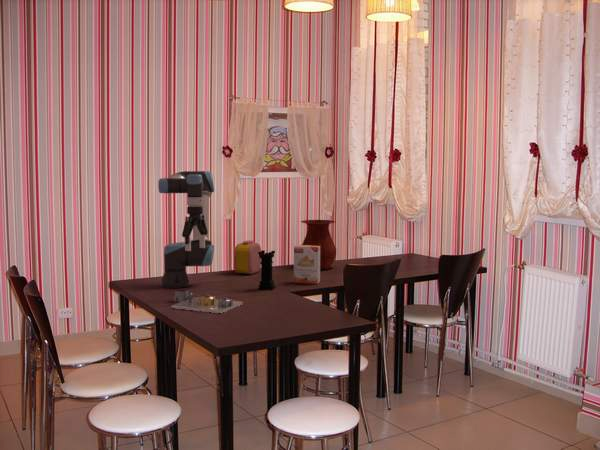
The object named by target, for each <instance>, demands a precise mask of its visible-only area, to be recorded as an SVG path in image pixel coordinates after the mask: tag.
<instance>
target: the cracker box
mask: <svg viewBox="0 0 600 450" xmlns="http://www.w3.org/2000/svg"><path fill="white" fill-rule="evenodd" d="M320 282H321V270H320V246H309V245H302V244H295V245H294V246H293V283H294V284H308V285H309V284H310V285H319V283H320Z"/></svg>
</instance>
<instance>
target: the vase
mask: <svg viewBox="0 0 600 450" xmlns="http://www.w3.org/2000/svg"><path fill="white" fill-rule="evenodd" d="M300 223H302V224H306V225H307V231H306V235H305V236H304V239H303V241H302V244H301V245H309V246H320V271H321V270H327V269H330V268H331V267H332V265H333V264H334V263H335V262H334V261H335V260H336V257H337V247H336V244H335V242H334V240H333V238H332V236H331V234H330V233H331V232H330V224H334V223H336V220H333V219H331V220H330V219H307V220H306V219H305V220H301V221H300Z"/></svg>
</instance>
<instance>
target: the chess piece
mask: <svg viewBox="0 0 600 450" xmlns="http://www.w3.org/2000/svg"><path fill="white" fill-rule="evenodd" d="M275 253H276V250H270V251H269V252H266V250H264V249H263V250H262V249H261V252H258V254H259V258H261V262H260V264H261V267H260V270H261V271H260V273H261V274H260V276H261V277H260V278H261V279H260V281H259V282H258V287H257V291H274V290H275V289H276V288H277V286H276V283H275V280H274V279H273V264H274V261H273V258H275Z"/></svg>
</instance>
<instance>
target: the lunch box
mask: <svg viewBox="0 0 600 450" xmlns="http://www.w3.org/2000/svg"><path fill="white" fill-rule="evenodd" d="M261 251H262V247H261V245H260V244H259V243H258V242H254V240H244V241H242V242H240V243H238V244H236V246H235V247H234V256H233V258H234V259H233V260H234V262H233V263H234V270H235V271H234V272H235V273H236V274H239V275H240V274H247V275H254V274H256V273H258V272H259V271H260V270H261V264H260V262H261V258H259V254H258V252H261Z"/></svg>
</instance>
